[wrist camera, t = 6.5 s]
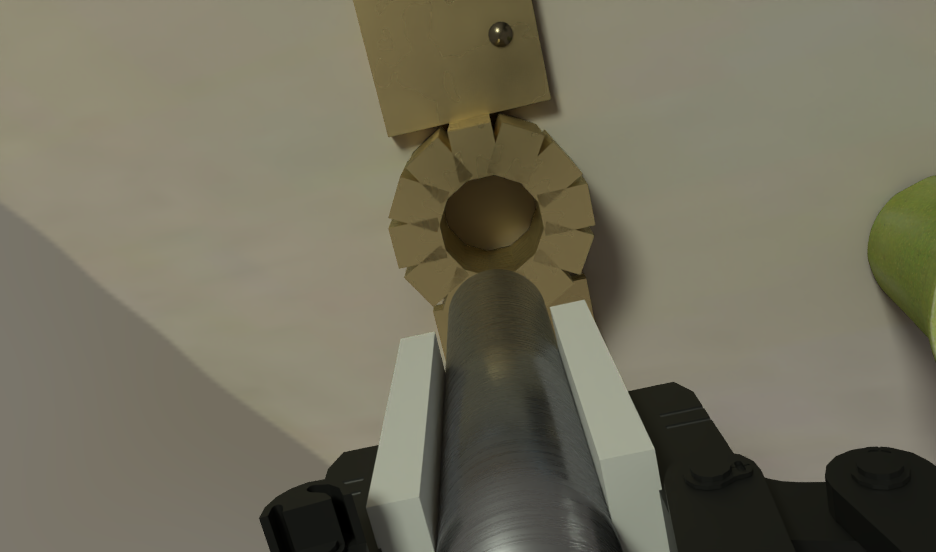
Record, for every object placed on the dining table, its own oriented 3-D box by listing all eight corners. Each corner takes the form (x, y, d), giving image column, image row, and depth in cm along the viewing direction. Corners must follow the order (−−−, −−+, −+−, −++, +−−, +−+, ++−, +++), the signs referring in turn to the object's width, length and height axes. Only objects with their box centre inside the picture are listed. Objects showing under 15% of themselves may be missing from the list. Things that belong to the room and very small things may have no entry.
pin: (410, 264, 21) (316, 666, 7) (553, 232, 21) (723, 588, 7) (444, 395, 22) (414, 956, 8) (580, 366, 22) (773, 894, 8)
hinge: (321, -83, 32) (301, -99, 28) (516, -133, 32) (523, -156, 28) (467, 476, 40) (467, 524, 36) (628, 444, 39) (645, 489, 35)
